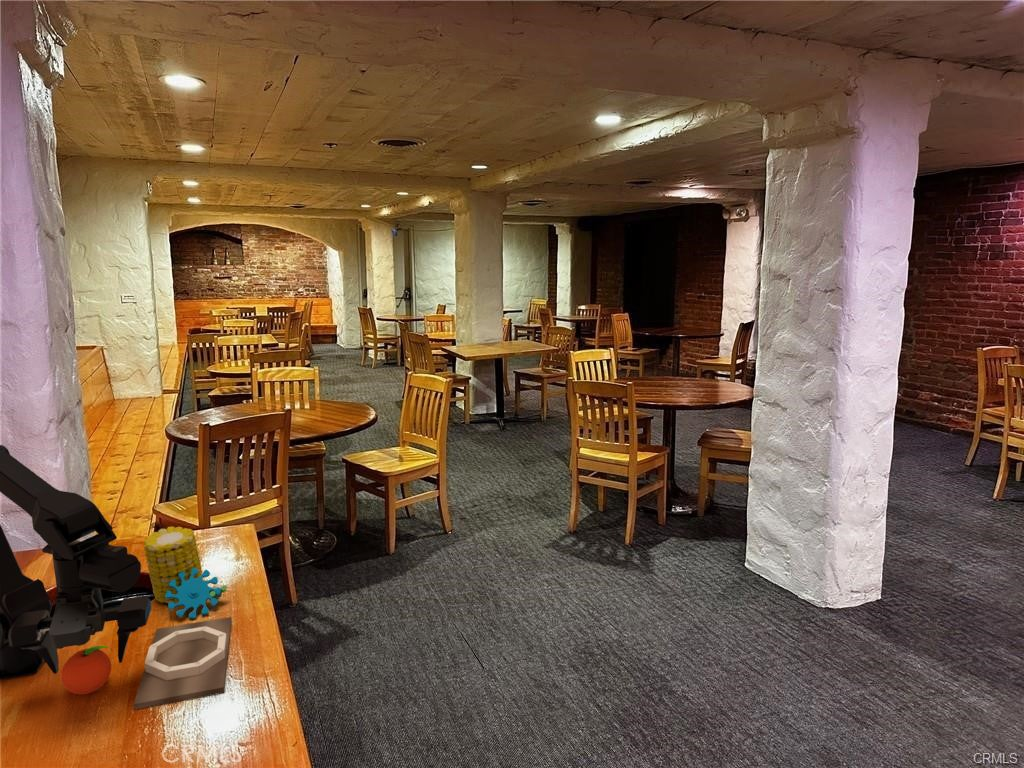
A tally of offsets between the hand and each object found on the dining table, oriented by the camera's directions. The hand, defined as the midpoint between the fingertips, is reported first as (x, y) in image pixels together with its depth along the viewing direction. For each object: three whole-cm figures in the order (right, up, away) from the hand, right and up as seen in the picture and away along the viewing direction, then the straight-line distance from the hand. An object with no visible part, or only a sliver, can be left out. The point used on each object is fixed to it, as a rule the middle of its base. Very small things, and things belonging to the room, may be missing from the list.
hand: (89, 666), depth 109 cm
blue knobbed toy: (+6, +1, +24) cm, 25 cm away
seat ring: (+12, -2, +8) cm, 15 cm away
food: (0, +2, +29) cm, 29 cm away
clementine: (0, -4, +1) cm, 4 cm away
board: (+12, -2, +8) cm, 15 cm away
